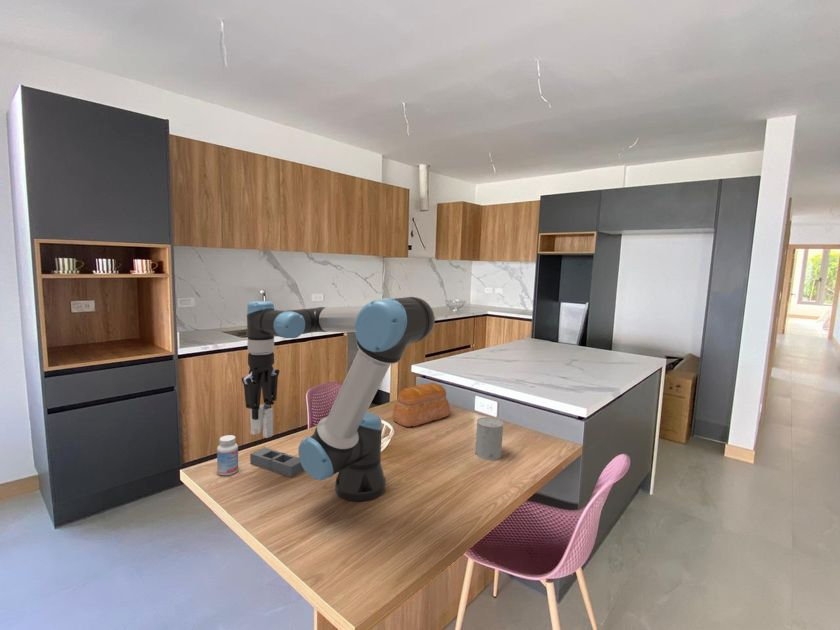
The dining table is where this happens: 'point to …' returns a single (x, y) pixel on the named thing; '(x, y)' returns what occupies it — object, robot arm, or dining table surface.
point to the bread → (421, 405)
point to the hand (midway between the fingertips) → (261, 426)
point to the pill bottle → (227, 456)
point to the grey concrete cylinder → (489, 438)
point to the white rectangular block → (264, 421)
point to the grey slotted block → (276, 462)
